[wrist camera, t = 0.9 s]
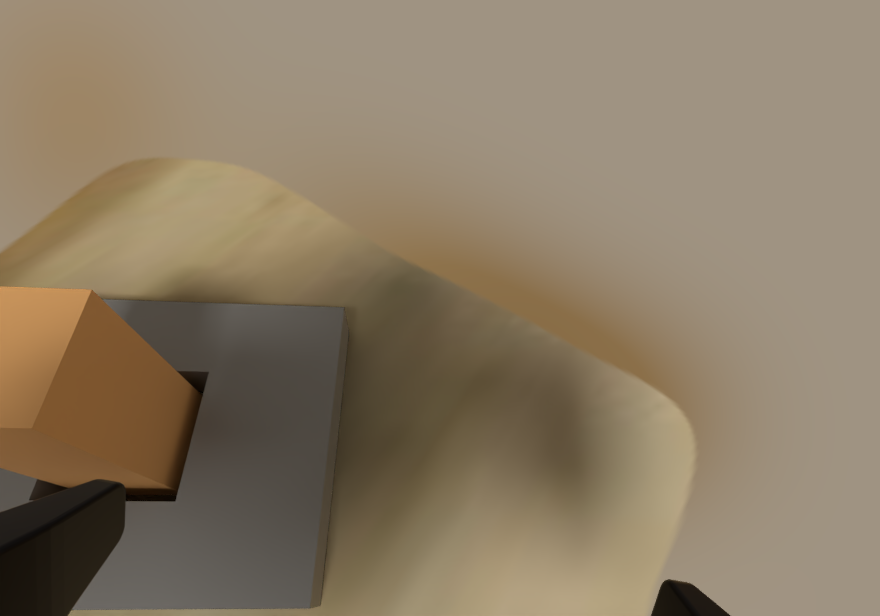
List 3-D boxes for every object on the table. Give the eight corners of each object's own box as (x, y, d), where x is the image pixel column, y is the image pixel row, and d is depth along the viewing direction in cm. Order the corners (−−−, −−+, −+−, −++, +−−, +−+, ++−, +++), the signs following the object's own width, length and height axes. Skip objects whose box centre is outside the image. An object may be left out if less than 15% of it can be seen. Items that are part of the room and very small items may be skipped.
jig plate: (320, 605, 19) (309, 608, 16) (-120, 608, 18) (-193, 611, 15) (349, 331, 25) (344, 307, 22) (22, 321, 24) (-16, 295, 21)
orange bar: (189, 495, 20) (31, 428, 12) (90, 494, 20) (-145, 425, 11) (211, 404, 22) (91, 289, 14) (122, 402, 22) (-58, 284, 13)
